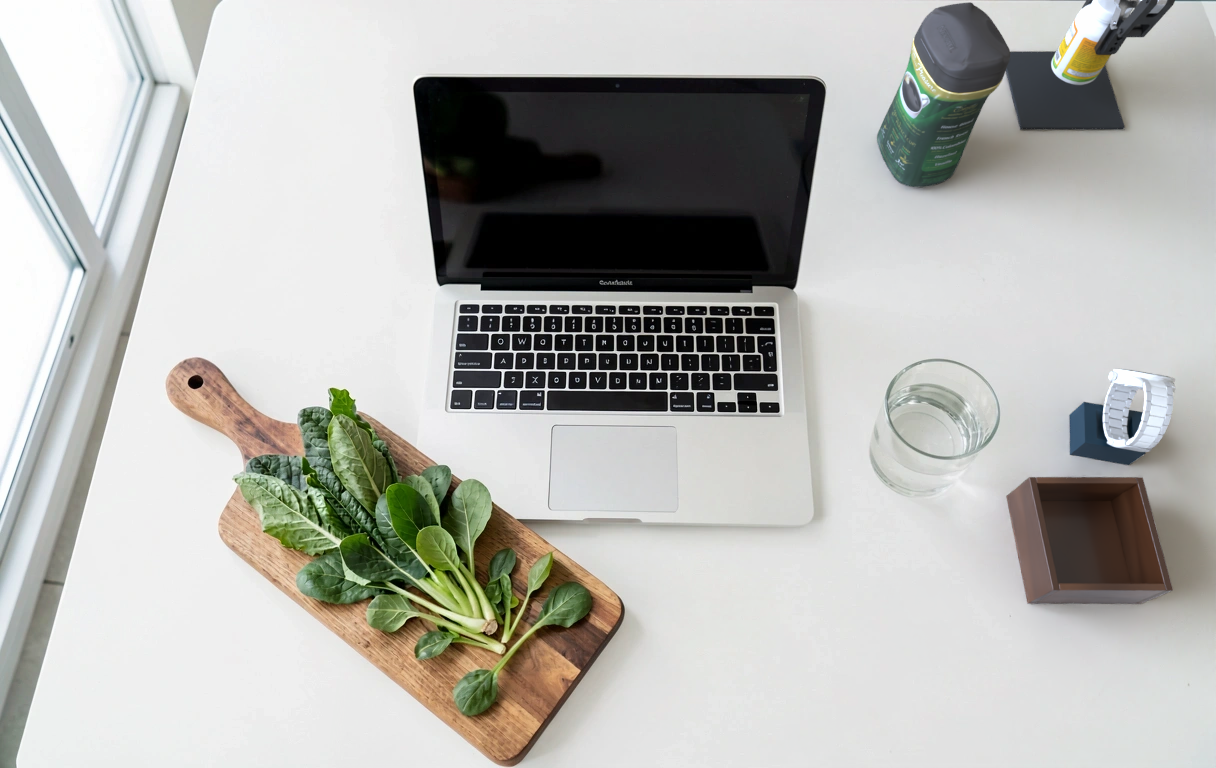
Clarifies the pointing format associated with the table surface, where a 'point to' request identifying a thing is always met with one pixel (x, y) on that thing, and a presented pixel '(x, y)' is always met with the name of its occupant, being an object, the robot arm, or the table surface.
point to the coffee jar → (942, 94)
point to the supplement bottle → (1084, 44)
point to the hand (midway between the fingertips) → (1097, 31)
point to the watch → (1123, 418)
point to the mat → (1059, 96)
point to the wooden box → (1087, 541)
